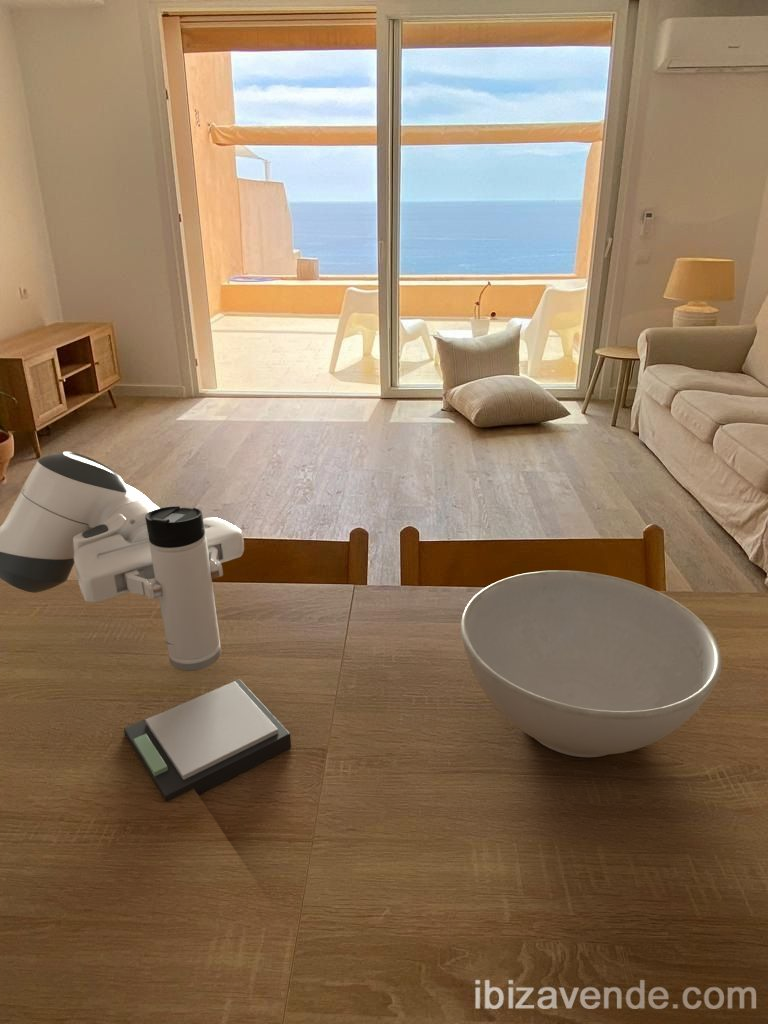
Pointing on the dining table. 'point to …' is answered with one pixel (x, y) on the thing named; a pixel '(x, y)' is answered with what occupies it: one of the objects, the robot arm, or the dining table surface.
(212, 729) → the kitchen scale
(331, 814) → the dining table surface
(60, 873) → the dining table surface
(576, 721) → the decorative bowl
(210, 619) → the travel mug
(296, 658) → the dining table surface
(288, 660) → the dining table surface
